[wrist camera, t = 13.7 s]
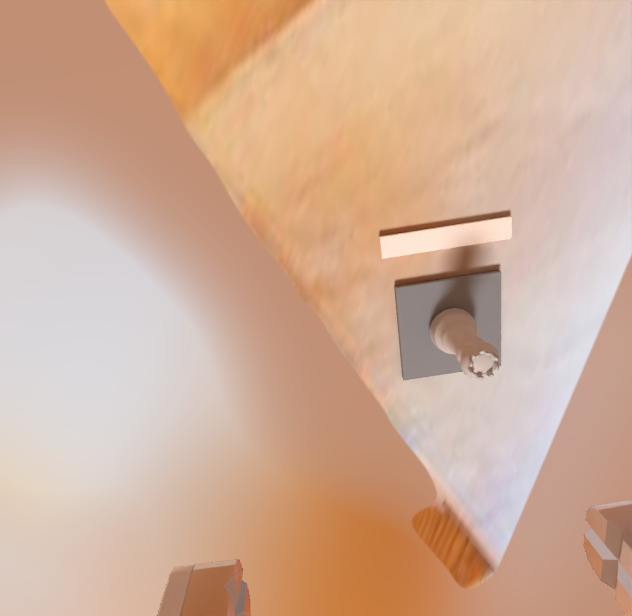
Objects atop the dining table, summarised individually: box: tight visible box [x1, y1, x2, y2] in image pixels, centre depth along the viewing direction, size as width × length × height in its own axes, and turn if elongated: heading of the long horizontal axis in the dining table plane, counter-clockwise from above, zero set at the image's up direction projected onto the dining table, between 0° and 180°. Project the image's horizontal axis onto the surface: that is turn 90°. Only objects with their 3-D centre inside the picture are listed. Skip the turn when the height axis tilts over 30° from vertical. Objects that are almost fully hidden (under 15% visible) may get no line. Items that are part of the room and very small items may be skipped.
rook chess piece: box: [429, 308, 500, 380], centre depth 38 cm, size 4×4×8 cm
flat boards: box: [379, 216, 512, 380], centre depth 41 cm, size 15×12×1 cm
